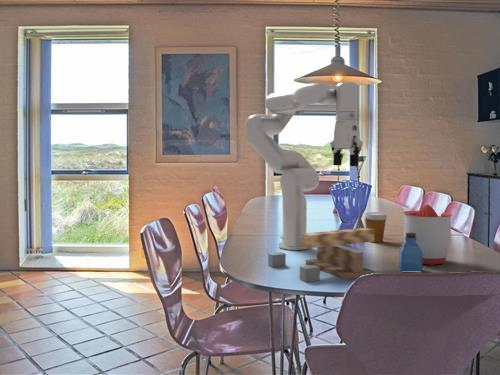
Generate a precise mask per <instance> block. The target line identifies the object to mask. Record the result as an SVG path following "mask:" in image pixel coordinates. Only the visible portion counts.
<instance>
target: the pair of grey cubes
mask: <svg viewBox="0 0 500 375" xmlns="http://www.w3.org/2000/svg"><path fill="white" fill-rule="evenodd" d="M286 256H287V255H286V253H285V252H282V251H280V252H279V251H278V252H271V253H268V256H267V258H268V262H267V265H268V267H271V268H277V267H285V266H286V265H287V264H286V259H287V257H286ZM320 273H321V270H320V267H319V266H316V265H302V266H301V265H300V266H299V280H300V281H301V282H304V283H311V282H316V281H320V279H321V278H320V277H321V276H320V275H321V274H320Z"/></svg>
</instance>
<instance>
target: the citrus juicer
mask: <svg viewBox="0 0 500 375" xmlns="http://www.w3.org/2000/svg"><path fill="white" fill-rule="evenodd" d="M403 214H404V215H403V216H404V217H403V219H404V220H403V243H406V240H405V237H406V233H416V238H417V239H416V241H415V243H417V244H418V246H419V248H420V250H421V252H422V265H423V264H424V265H428V264H429V265H428V266H434V265H441V264H444V263H445V261H446V259H447V257H448V256H447V255H448V253H449V251H450V250H449V249H450V246H451V235H452V234H451V230H452V229H451V228H452V227H451V225H452V216H453V214H452V213H450V212H443V213H441V214H440V215H439V216H438V214H437V211H435V209H434V208H433V207H432V206H431V205H430V204H425V205H424V206H423V207H421V209H420V210H406V211H405V210H404V211H403Z"/></svg>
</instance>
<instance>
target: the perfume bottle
mask: <svg viewBox="0 0 500 375" xmlns="http://www.w3.org/2000/svg"><path fill="white" fill-rule="evenodd" d="M416 239H417V238H416V233H406V237H405V240H406V243H404V242H402V244H401V246H400V247H399V249H398V269H399V271H400V272H401V271H422V272H423V264H422V252H421V250H420V248H419V246H418V244H417V243H415V241H416Z"/></svg>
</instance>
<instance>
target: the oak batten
mask: <svg viewBox="0 0 500 375" xmlns="http://www.w3.org/2000/svg"><path fill="white" fill-rule="evenodd" d="M373 241H374V229H371V228H366V227H359V228H350V229H347V228H346V229H337V230H328V231H327V230H326V231H315V232H306V233H303V234H301V246H302V247H305V248H308V249H309V250H310V249H316V248H318V247H328V246H337V245H351V244H352V245H354V244H362V243H372V242H373ZM308 249H307V250H308Z"/></svg>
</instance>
